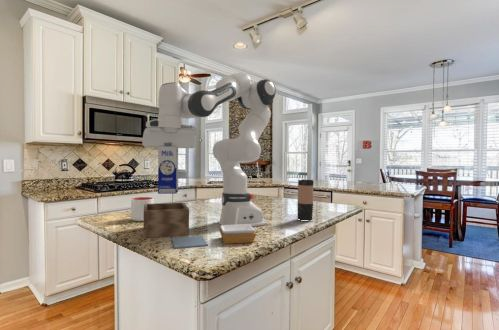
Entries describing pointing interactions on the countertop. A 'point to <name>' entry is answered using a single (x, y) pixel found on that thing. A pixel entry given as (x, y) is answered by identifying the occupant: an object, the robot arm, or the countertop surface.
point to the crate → (165, 220)
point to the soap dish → (237, 233)
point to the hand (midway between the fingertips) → (169, 159)
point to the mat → (189, 242)
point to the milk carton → (167, 169)
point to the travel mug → (305, 199)
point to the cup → (139, 207)
